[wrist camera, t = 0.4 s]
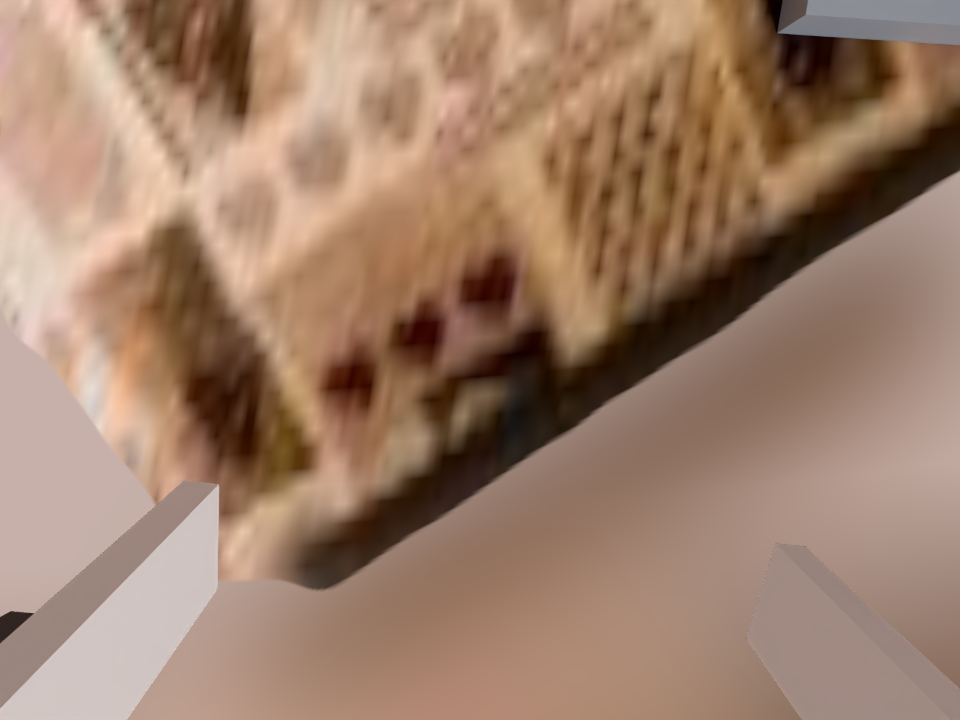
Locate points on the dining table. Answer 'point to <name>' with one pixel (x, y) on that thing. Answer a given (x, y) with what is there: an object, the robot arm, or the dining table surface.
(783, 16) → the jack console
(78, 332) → the dining table surface
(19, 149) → the dining table surface
